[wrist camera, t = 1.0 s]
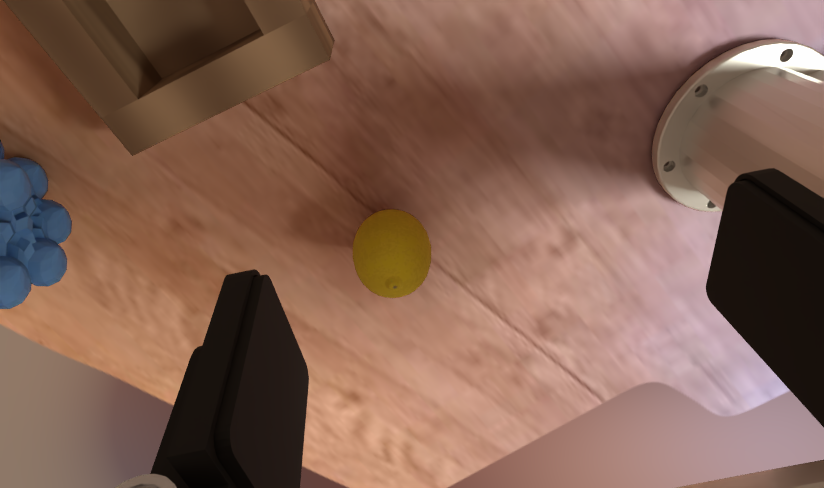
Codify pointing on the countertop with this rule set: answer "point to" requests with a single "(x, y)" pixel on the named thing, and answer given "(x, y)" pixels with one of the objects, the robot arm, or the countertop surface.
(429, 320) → the countertop surface
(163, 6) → the shaker holder
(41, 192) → the grapes
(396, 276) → the lemon
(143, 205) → the countertop surface
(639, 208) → the countertop surface
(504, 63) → the countertop surface
